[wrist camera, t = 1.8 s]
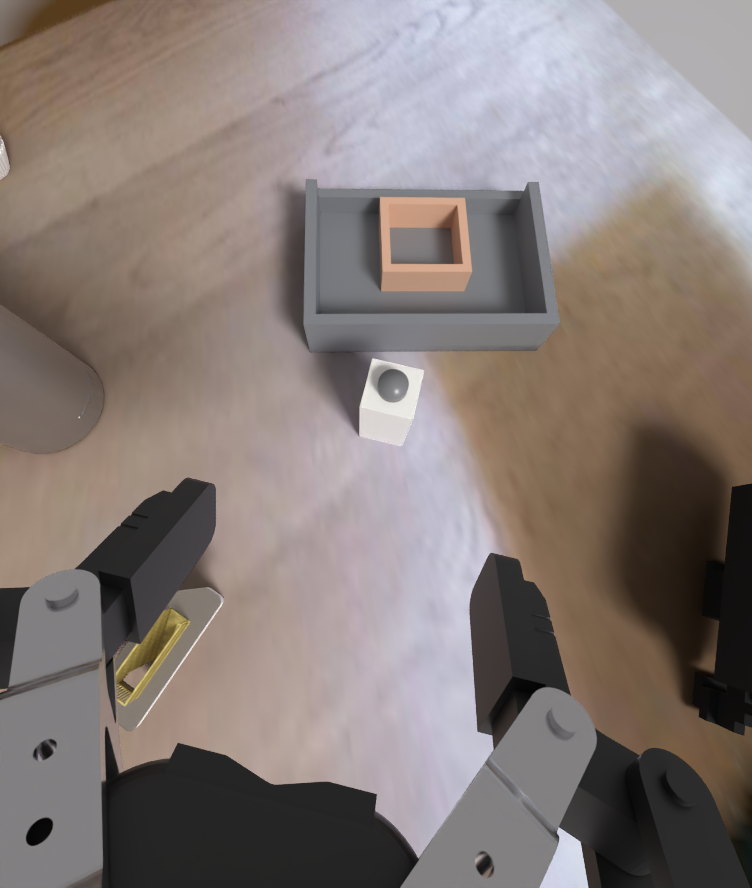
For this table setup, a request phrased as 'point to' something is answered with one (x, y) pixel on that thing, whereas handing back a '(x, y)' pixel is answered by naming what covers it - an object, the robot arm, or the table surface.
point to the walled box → (426, 270)
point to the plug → (389, 401)
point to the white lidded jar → (3, 160)
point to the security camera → (730, 624)
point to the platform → (162, 651)
